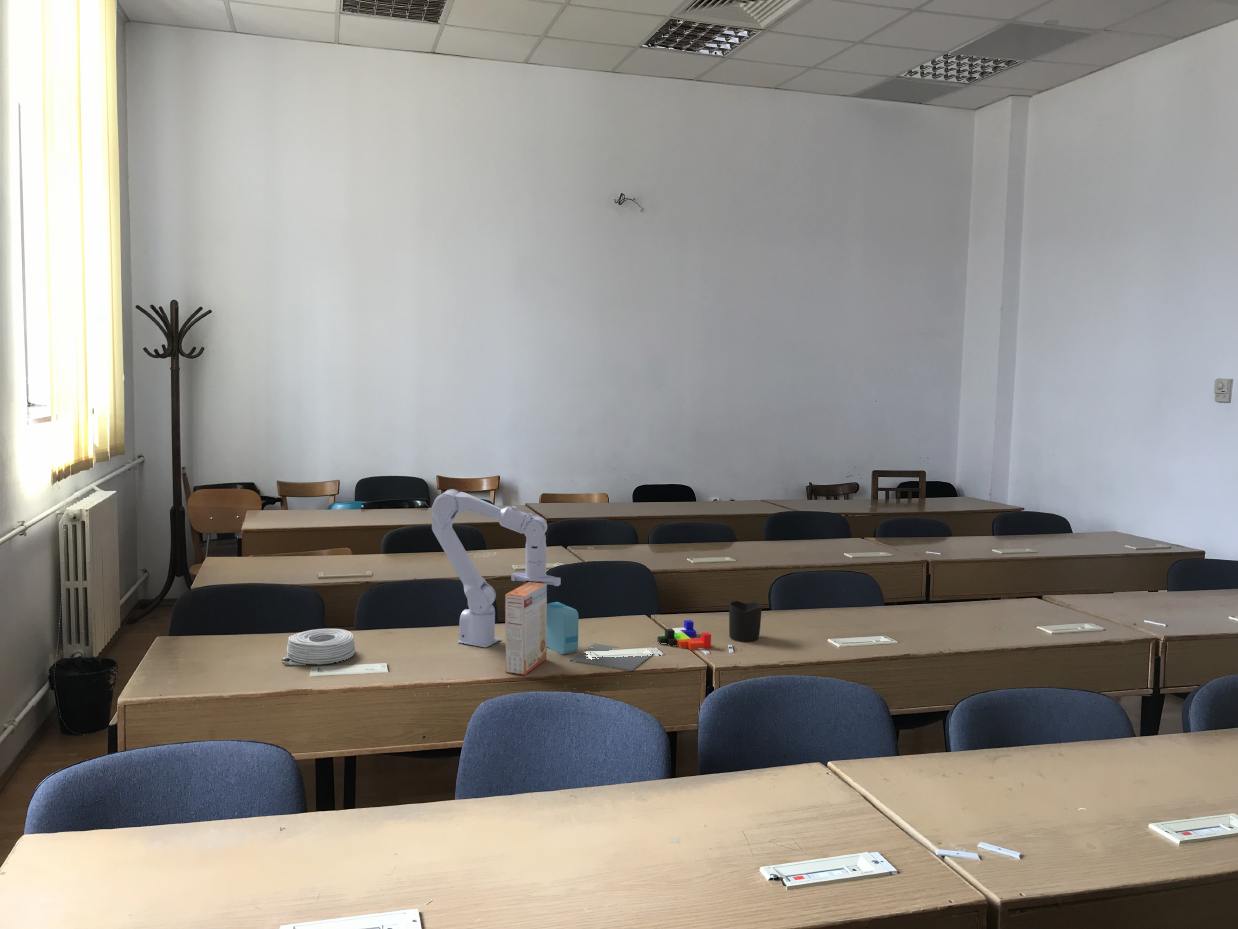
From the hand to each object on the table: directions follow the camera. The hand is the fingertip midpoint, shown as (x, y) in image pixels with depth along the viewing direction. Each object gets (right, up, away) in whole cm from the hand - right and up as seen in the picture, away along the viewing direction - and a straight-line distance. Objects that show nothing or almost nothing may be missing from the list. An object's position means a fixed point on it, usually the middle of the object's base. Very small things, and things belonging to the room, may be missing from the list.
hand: (535, 608), depth 264 cm
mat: (+21, -12, -8) cm, 26 cm away
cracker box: (-1, -13, -17) cm, 21 cm away
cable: (-56, -11, -13) cm, 58 cm away
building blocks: (+41, -11, +7) cm, 43 cm away
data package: (+7, -11, -2) cm, 13 cm away
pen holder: (+60, -11, +12) cm, 62 cm away
